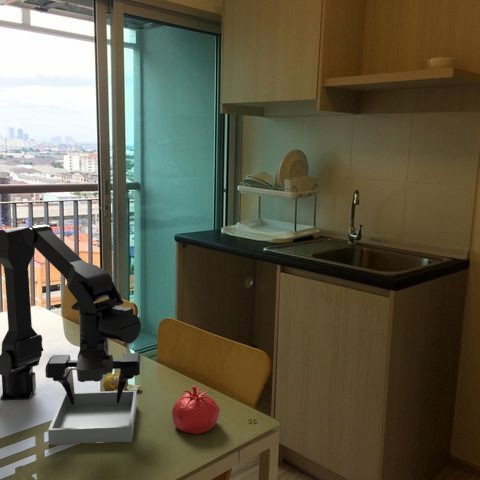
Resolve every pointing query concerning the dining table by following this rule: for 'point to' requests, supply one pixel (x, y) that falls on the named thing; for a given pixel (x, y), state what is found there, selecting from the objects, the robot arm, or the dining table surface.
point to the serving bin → (94, 418)
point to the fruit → (113, 381)
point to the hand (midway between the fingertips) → (95, 403)
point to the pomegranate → (195, 412)
